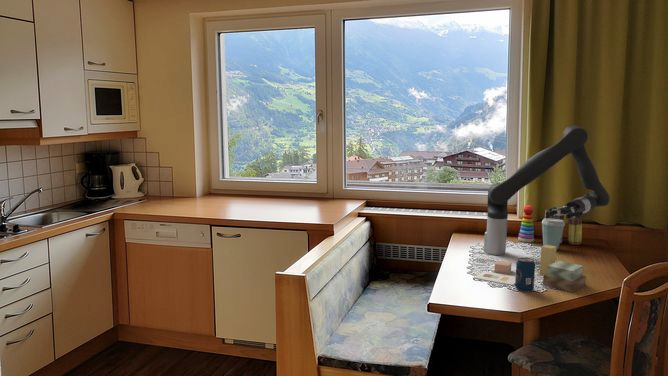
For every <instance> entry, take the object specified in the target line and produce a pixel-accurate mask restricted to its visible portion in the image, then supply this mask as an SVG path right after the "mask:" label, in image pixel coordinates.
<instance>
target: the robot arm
mask: <svg viewBox="0 0 668 376" xmlns="http://www.w3.org/2000/svg"><path fill="white" fill-rule="evenodd" d="M588 139H589V135H588V131H587V130H586V129H584V128H583V127H581V126H578V125H569V126H567V127H566V128H565V129H564V130H563V132H562V138H561V139H559V140H558V141H557V142H556V143H554V144H553V145H551V146H549V147H547V148H545V149H543V150H540V151H538V152H537V153H535V154H534V155H532V156H530V157H529V158H528V159H527V160H526V161H524V162H523V163H522V164H521V165H520V166H519V168H518V169H517V170H515V172H514V173H512V175H511V176H510V177H508V178H506V179H505V180H504V181H502V182H496V183H495V182H494V183H493V184H491V185H490V186H489V188H488V190H487V207H486V208H487V209H486V210H487V217H486V219H487V220H486V231H485V232H484V241H483V242H484V243H483V252H484V253H487V254H488V255H493V256H495V255H496V256H502V255H505V254H506V253H507V252H506V251H507V233H508V220H509V219H508V217H509V216H508V215H509V212H508V211H509V210H508V203H509V202H508V201H509V200H510V199H511V198H512V197H514V196H515V194H517V193H518V192H519V191H520V190H522V189H523V188H524V187H527V186H528V185H529V184H531V183H532V182H533V181H534V180H537V179H538V178H539V177H541V176H543V175H544V174H545V173H546V172H547V171H549V170H551V168H552V167H554V166H555V165H557V164H558V163H559V162H560V161H561V160H562V159H564V158H565V157H566V156H568V155H569V154H571V156H572V158H573V160H574V163H575V166H576V167H577V168H576V169H577V171H578V174H579V176H580V180H581V182H582V185H583V187H584V189H585V190H591V191H590V192H586V193H585V194H584V195H583V196H581V197H576V198H574V199H572V200H569V201H568V202H566V204H565V205H563V206H560V207H559V206H558V205H556V206H553V207H551V208H548V209H549V212H548V217H551V216H554V215H559V216H560V215H564V216H565V218H566V220H569V218H572V217H578V218H579V217H581V218H582V217H584V216H585V215H586V213H588V212H590V211H593V210H594V209H595V208H596V207H597V208H598V207H607V206H608V205H609V203H610V200H611V197H610V195H609V192H608V191H607V190H606V188H605V187H604V185H603V184H602V182H601V181H600V179H599V176H598V172H597V170H596V168H595V166H594V164H593V162H592V161H591V158H590V156H589V154H588V152H587V149H586V147H585V146H586V145H585V144H586V143H587V141H588ZM560 211H561V213H562V214H560Z"/></svg>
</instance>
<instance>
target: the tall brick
mask: <svg viewBox="0 0 668 376" xmlns="http://www.w3.org/2000/svg"><path fill="white" fill-rule="evenodd" d="M540 248H541V249H540V260H539V261H540V262H539V264H540V265H539V275H542V276H544V275H546V274H547V271H548V265H550V264H552V263H555V262H556V260H557V250H556V246H550V245H544V246H543V245H542V246H541V247H540Z"/></svg>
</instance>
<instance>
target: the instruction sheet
mask: <svg viewBox="0 0 668 376" xmlns="http://www.w3.org/2000/svg"><path fill="white" fill-rule="evenodd" d="M473 278H474V279H477V280H482V281H487V282H493V283H498V284H501V285H502V284H503V285H506V286H507V285H508V286H515V278H516V275H515V276H514V275H510V274H509V275H508V274H501V273H494V272H493V271H492V272H491V271H487V270H482V271H481V272H480V273H478V274H477V275H475V276H473Z"/></svg>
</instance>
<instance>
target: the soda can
mask: <svg viewBox="0 0 668 376" xmlns="http://www.w3.org/2000/svg"><path fill="white" fill-rule="evenodd" d="M515 265H516V267H515V277H516V278H515V284H514V286H515V289H516V290H517V291H520V292H523V293H524V292H525V293H526V292H527V293H528V292H532V291H533V290H534V287H535V276H536V275H535V274H536V262H535V260H534V259H533V258H531V257H523V256H522V257H519V258H518V260H517V261H516V263H515Z"/></svg>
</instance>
